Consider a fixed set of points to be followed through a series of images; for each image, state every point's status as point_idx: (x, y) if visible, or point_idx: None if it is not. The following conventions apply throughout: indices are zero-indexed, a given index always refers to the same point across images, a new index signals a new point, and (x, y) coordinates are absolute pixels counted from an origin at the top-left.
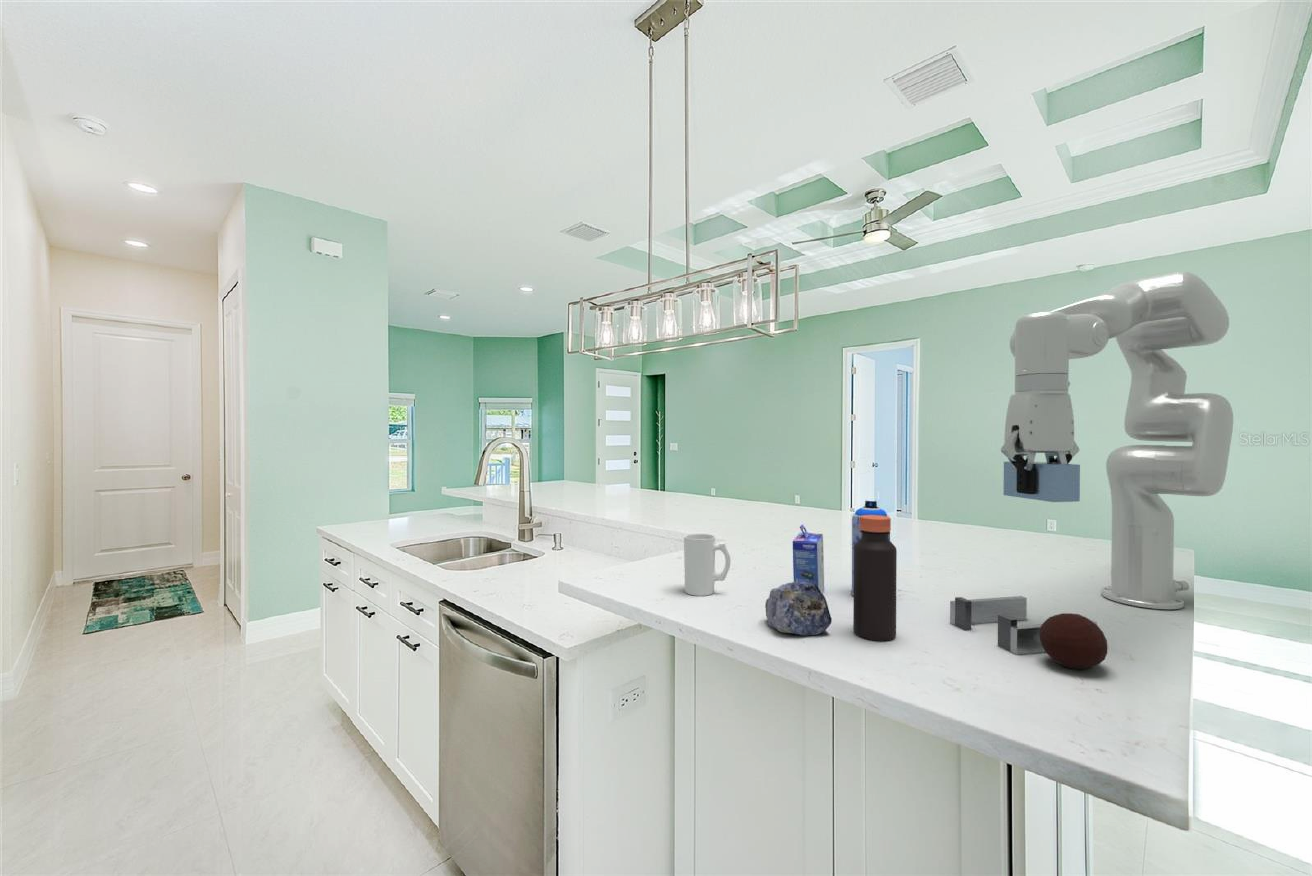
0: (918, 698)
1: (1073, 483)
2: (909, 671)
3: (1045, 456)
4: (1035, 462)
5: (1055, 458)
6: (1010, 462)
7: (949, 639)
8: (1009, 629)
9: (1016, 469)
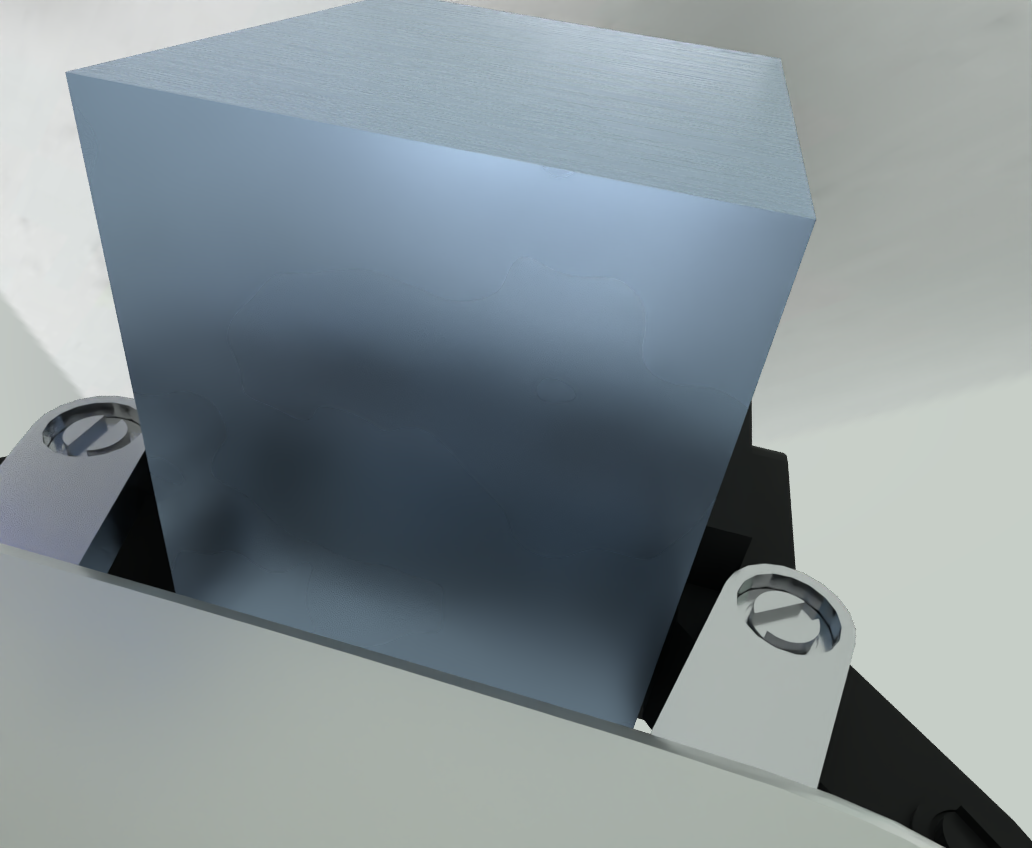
0: (11, 277)
1: None
2: (40, 166)
3: (657, 727)
4: (463, 556)
5: (818, 785)
6: (113, 267)
7: (276, 9)
8: None
9: (121, 417)
